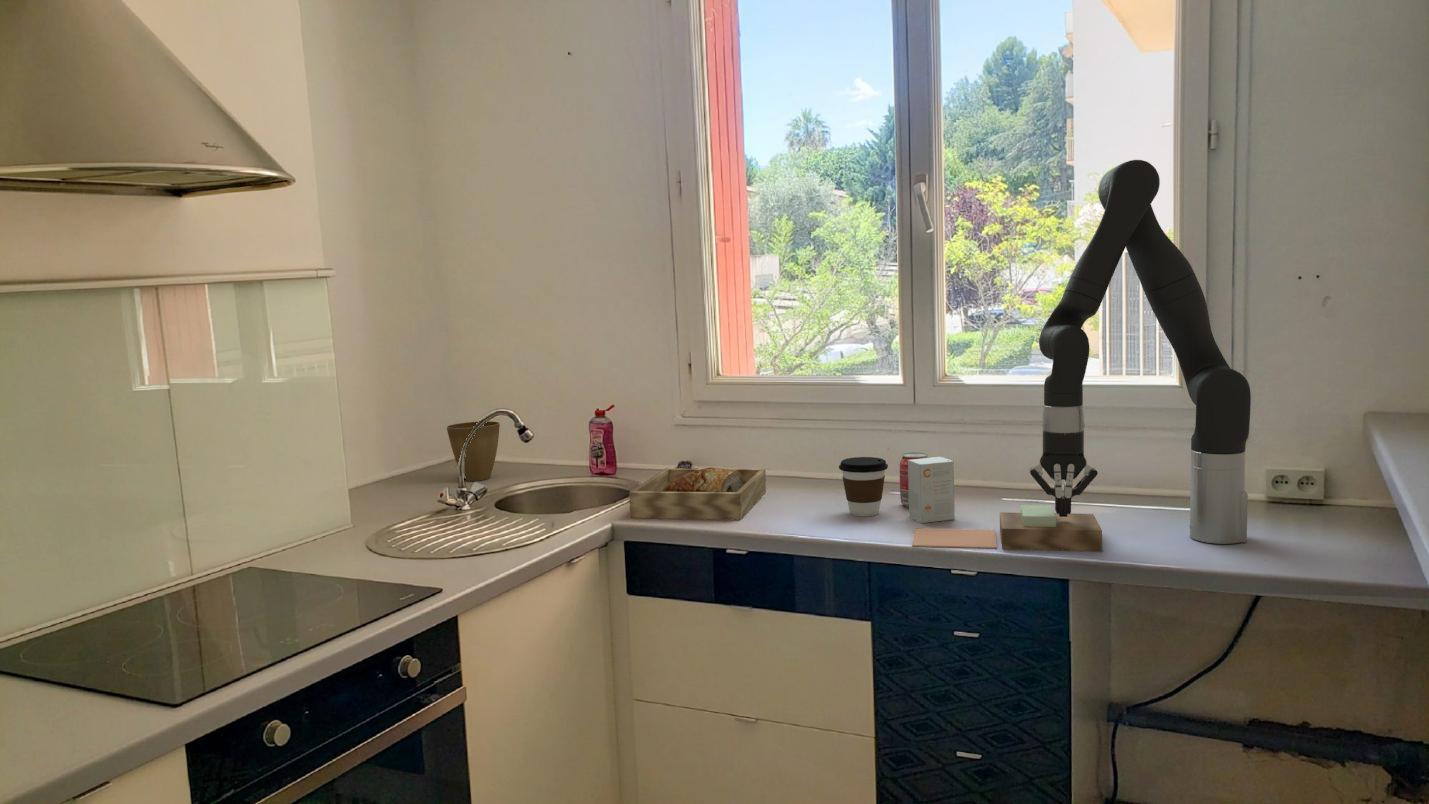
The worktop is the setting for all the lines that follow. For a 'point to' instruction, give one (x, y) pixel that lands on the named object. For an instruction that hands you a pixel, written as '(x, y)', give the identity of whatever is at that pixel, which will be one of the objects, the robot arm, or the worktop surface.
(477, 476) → the plant pot
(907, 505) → the soda can
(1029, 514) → the pale green foam block
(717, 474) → the bread
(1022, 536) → the board
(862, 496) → the coffee cup
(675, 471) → the bread crate
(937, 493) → the small box
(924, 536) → the mat
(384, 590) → the worktop surface
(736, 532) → the worktop surface
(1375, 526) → the worktop surface
